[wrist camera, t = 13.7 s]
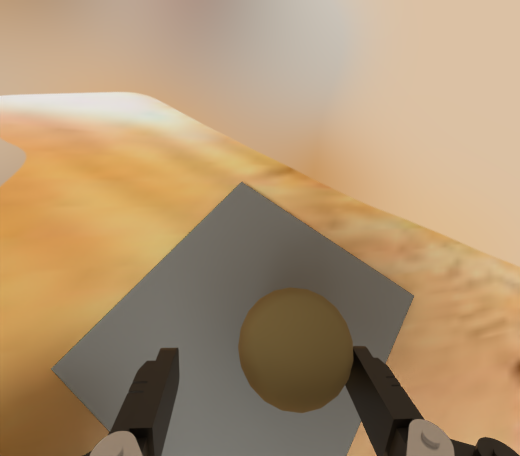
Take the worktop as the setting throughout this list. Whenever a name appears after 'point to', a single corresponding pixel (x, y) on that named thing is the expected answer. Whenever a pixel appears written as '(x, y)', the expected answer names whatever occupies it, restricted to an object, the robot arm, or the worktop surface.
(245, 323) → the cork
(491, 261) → the worktop surface
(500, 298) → the worktop surface
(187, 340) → the charcoal mat
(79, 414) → the worktop surface
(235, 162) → the worktop surface
